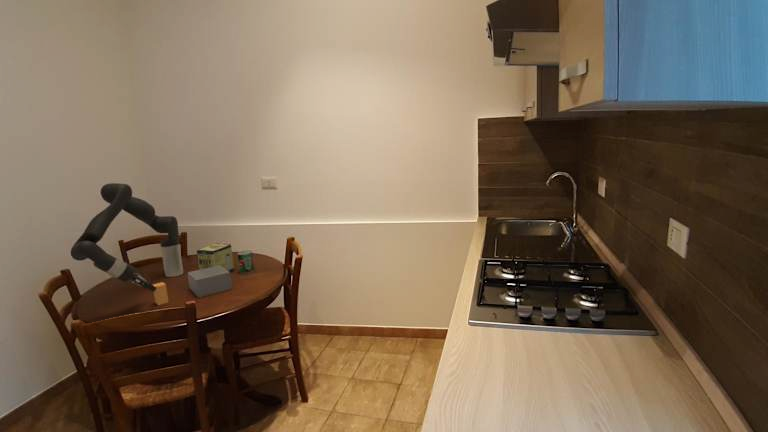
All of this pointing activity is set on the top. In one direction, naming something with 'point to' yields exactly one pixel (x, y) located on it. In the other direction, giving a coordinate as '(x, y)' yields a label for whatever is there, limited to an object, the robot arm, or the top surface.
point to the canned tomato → (245, 262)
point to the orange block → (160, 293)
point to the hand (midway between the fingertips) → (152, 287)
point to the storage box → (209, 281)
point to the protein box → (216, 256)
